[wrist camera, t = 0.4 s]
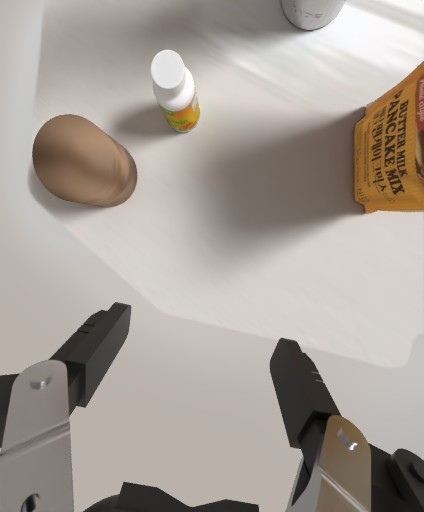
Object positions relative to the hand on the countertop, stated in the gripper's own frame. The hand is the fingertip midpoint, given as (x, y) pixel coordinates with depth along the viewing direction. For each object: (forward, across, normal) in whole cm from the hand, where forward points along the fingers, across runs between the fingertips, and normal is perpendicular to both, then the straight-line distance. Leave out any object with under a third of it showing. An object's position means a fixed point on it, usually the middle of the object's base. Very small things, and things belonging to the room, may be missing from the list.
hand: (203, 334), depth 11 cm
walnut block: (+28, +20, -4) cm, 35 cm away
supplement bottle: (+30, +9, -16) cm, 35 cm away
